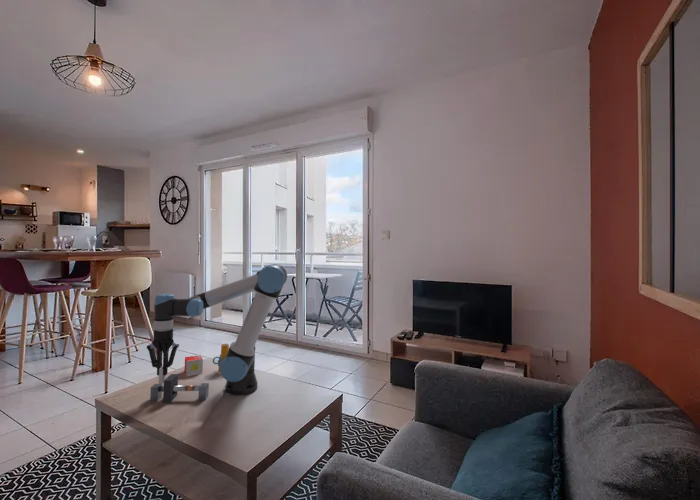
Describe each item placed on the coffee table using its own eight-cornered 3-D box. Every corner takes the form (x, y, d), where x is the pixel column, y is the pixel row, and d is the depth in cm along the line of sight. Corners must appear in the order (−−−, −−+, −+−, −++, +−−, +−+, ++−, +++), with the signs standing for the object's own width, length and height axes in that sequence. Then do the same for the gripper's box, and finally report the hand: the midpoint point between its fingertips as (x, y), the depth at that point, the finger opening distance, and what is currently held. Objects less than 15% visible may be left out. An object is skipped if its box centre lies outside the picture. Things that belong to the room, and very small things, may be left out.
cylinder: (226, 376, 176) (227, 348, 176) (208, 374, 178) (210, 346, 178) (238, 368, 188) (239, 342, 188) (222, 366, 190) (223, 340, 190)
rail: (209, 397, 151) (209, 381, 151) (204, 405, 144) (204, 388, 144) (155, 398, 148) (156, 382, 148) (148, 406, 141) (149, 389, 141)
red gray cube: (186, 376, 174) (186, 361, 174) (184, 371, 181) (184, 357, 181) (202, 373, 179) (203, 359, 179) (200, 369, 185) (200, 355, 185)
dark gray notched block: (177, 394, 149) (178, 374, 149) (170, 402, 142) (171, 380, 142) (170, 394, 149) (171, 374, 149) (163, 402, 141) (163, 380, 141)
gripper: (182, 327, 149) (180, 378, 149) (151, 327, 148) (150, 379, 148) (175, 331, 142) (174, 385, 142) (143, 331, 140) (141, 386, 140)
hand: (161, 382), depth 145 cm, fingers closed
